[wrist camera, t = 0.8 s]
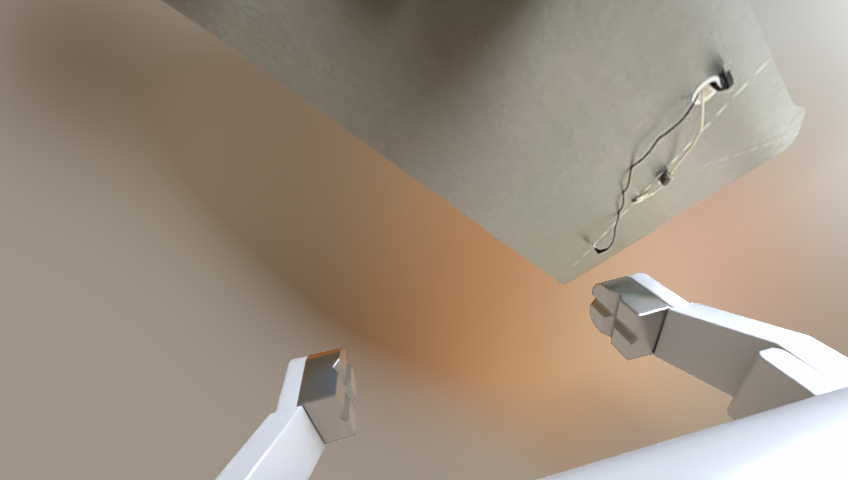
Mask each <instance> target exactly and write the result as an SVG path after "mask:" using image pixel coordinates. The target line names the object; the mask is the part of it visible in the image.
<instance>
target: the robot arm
mask: <svg viewBox="0 0 848 480" xmlns="http://www.w3.org/2000/svg"><path fill="white" fill-rule="evenodd" d="M592 295H593V296H594V297H595V299H594V301H593V302H592V303H591V304H590V315H591V319H592V321H593V323H594V325H595V326H596V328H597V329H598V330H599V331H600V332H601V333H603V334H606V335H608V336H610V337H611V344H612V345H613V346H614V347H615V348H616V349H617V350H618V351H619V352H620V353H621V354H622V355H623V356H624V357H625V358H626V359H627V360H630V359H634V358H638V357H642V356H646V355H651V354H654V355H655V356H656V357H658V358H660V359H662V360H664V361H666V362H668V363H670V364H671V365H673V366H675V367H677V368H679V369H681V370H683V371H685V372H687V373H689V374H691V375H693V376H695V377H697V378H698V379H700V380H702V381H704V382H706V383H708V384H710V385H712V386H714V387H716V388H718V389H719V390H721V391H723V392H725V393H727V394H729V395H731V396H733V399H732V401H731V403H730V404H729V406H728V408H727V411H728V412H727V413H728V415H729V416H730V417H731V418H733V419H734V421H730V422H727V423H724V424H721V425H717V426H714V427H710V428H707V429H704V430H700V431H697V432H694V433H690V434H687V435H684V436H680V437H677V438H674V439H670V440H667V441H664V442H660V443H657V444H654V445H651V446H647V447H644V448H641V449H637V450H634V451H630V452H627V453H624V454H621V455H617V456H614V457H610V458H607V459H604V460H601V461H597V462H594V463H591V464H587V465H584V466H581V467H577V468H574V469H571V470H568V471H564V472H561V473H557V474H554V475H551V476H547V477H544V478H541V479H537V480H848V358H847V357H845V356H843V355H841V354H840V353H838V352H836V351H835V350H833V349H831V348H829V347H828V346H826V345H824V344H822V343H821V342H819V341H817V340H815V339H814V338H812V337H810V336H808V335H804V334H801V333H797V332H794V331H790V330H786V329H784V328H780V327H777V326H773V325H770V324H767V323H763V322H760V321H756V320H753V319H749V318H746V317H743V316H739V315H736V314H732V313H729V312H725V311H722V310H719V309H715V308H712V307H708V306H705V305H701V304H698V303H695V302H693V303H688V302H686V301H685V300H683V299H682V298H680V297H679V296H678V295H676V294H675V293H673V292H672V291H670V290H669V289H667V288H666V287H664V286H663V285H661V284H660V283H658V282H657V281H655V280H654V279H652V278H651V277H650V276H648V275H647V274H644V273H636V274H632V275H628V276H625V277H621V278H617V279H614V280H609V281H605V282H602V283H598V284H595V286H594V287H593V291H592ZM355 398H356V383H355V377H354V373H353V370H352V367H351V366H350V365H348V364H347V355H346V353H345V351H344V349H343V348H340V349H336V350H331V351H326V352H322V353H317V354H313V355H309V356H306V357H302V358H297V359H292V360H291V361H290V363H289V364H288V367H287V371H286V375H285V379H284V382H283V386H282V390H281V394H280V397H279V401H278V405H277V409H276V412H275V413H271V414H270V415H269V416H268V417H267V418H266V419H265V420H264V422H263V423H262V424H261V425H260V427H259V428H258V429H257V430H256V431H255V432H254V434H253V435H252V436H251V437H250V438H249V440H248V441H247V442H246V443H245V445H244V446H243V447H242V448H241V449H240V450H239V452H238V453H237V454H236V455H235V456H234V458H233V459H232V460H231V461H230V462H229V464H228V465H227V466H226V467H225V468H224V470H223V471H222V472H221V473H220V474H219V475H218V477H217V478H216V479H215V480H308V479H309V477H310V475H311V473H312V471H313V469H314V467H315V465H316V463H317V461H318V459H319V458H320V456H321V454H322V452H323V450H324V448H325V444H327V443H331V442H334V441H337V440H340V439H344V438H347V437H350V436H353V435H355V422H356V412H355V409H354V407H353V405H352V403H353V402H354V400H355Z"/></svg>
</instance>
